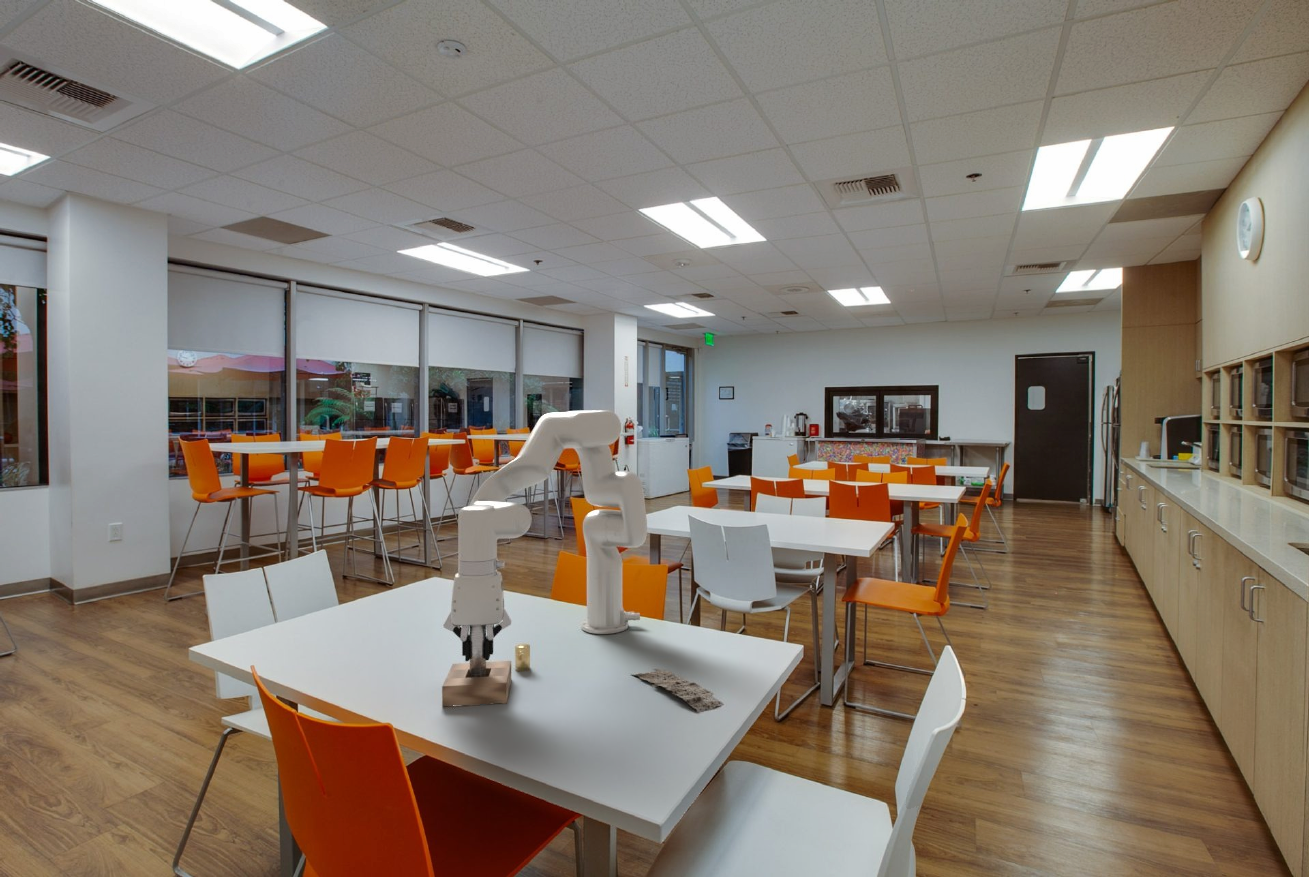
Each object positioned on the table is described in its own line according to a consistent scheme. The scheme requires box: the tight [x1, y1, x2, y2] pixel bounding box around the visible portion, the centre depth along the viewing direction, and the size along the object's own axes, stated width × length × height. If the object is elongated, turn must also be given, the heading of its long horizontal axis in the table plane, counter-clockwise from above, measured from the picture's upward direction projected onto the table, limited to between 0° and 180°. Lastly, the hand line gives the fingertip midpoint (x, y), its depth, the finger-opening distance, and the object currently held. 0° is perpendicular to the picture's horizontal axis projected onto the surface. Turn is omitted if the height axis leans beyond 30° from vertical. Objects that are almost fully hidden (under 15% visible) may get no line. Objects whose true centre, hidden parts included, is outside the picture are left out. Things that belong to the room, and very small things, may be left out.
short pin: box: [514, 643, 531, 672], centre depth 142 cm, size 3×3×5 cm
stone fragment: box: [634, 668, 725, 714], centre depth 131 cm, size 25×3×10 cm
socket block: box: [441, 660, 512, 706], centre depth 129 cm, size 12×12×4 cm
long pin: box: [469, 625, 487, 678], centre depth 129 cm, size 3×3×12 cm
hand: (477, 657), depth 129 cm, fingers closed on long pin, 3 cm apart
